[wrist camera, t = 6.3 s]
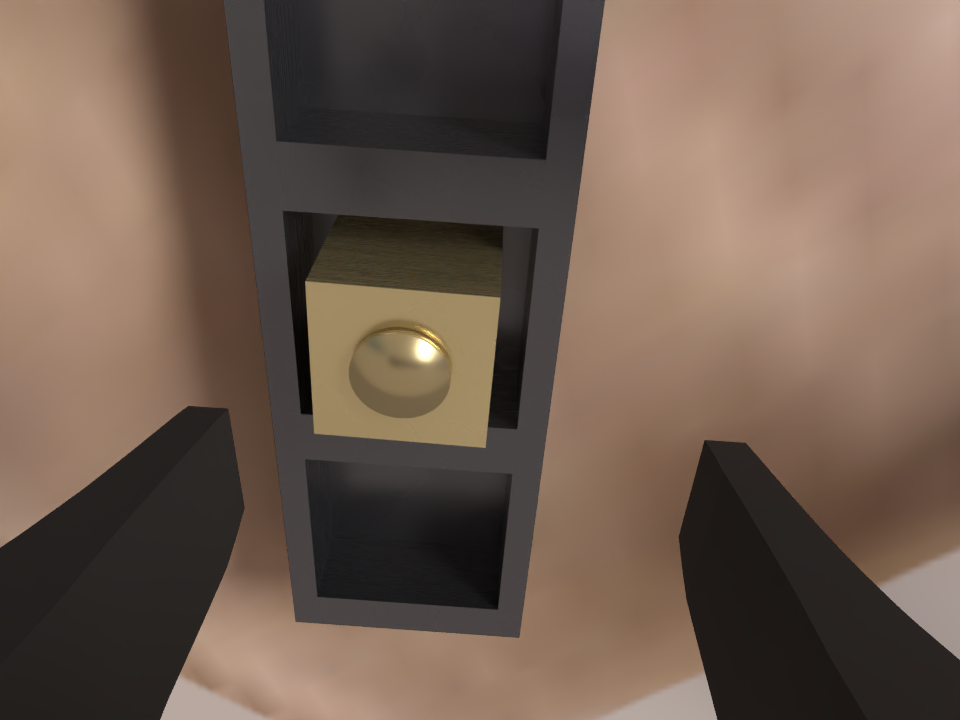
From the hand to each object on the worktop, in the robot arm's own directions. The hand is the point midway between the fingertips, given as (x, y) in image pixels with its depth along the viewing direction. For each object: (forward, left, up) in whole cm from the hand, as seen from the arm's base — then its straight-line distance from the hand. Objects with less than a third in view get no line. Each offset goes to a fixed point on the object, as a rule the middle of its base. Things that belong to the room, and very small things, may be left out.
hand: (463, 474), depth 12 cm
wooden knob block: (+2, +2, -9) cm, 9 cm away
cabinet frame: (+2, +1, -10) cm, 10 cm away
